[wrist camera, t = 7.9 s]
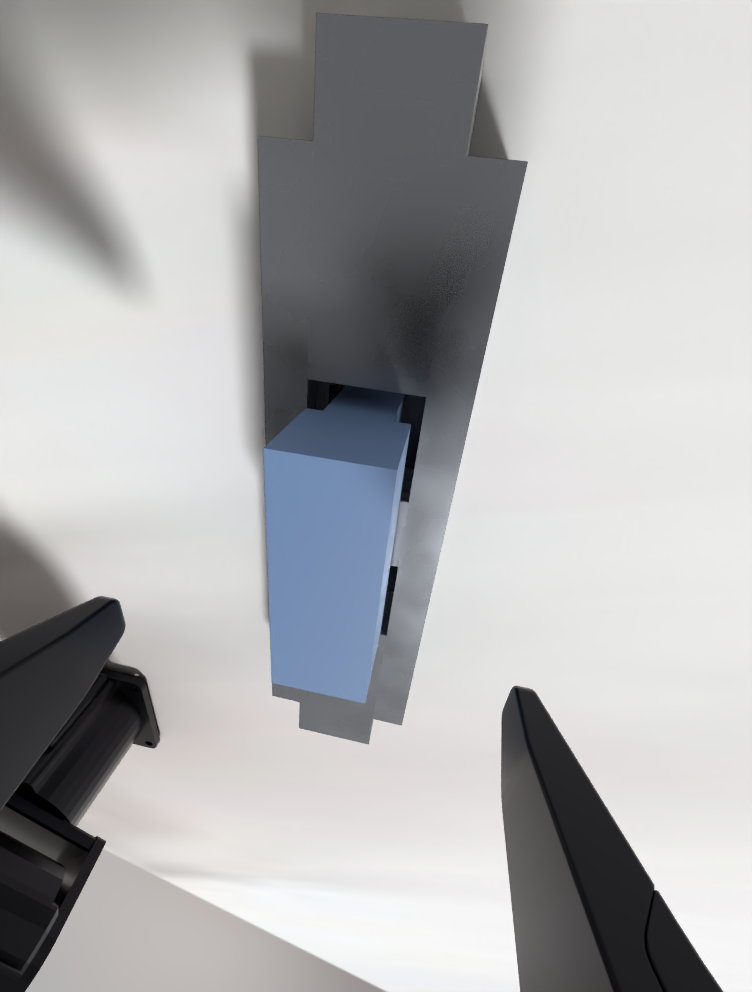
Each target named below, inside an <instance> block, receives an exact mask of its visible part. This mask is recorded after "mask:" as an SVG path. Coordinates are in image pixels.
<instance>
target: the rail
mask: <svg viewBox="0 0 752 992" xmlns="http://www.w3.org/2000/svg"><path fill="white" fill-rule="evenodd" d="M487 29H488V24H479V23H463V22H448V21H432V20H417V19H401V18H386V17H370V16H355V15H339V14H324V13H316V51H315V92H314V134H313V141H306V140H296V139H285V138H275V137H264V136H258V168H259V206H260V243H261V281H262V319H263V357H264V394H265V432H266V445H267V444H268V443H269V442H270V441H271V440H273V439H274V438H275V437H276V436H277V435H278V434H279V433H280V432H281V431H282V430H283V429H284V428H285V427H286V426H287V425H288V424H289V423H291V422H292V421H293V420H294V419H295V418H296V417H297V416H298V415H299V414H300V413H301V412H302V411H303V410H304V409H305V408H308V409H315V410H321V411H323V410H324V409H325V408H326V407H327V406H328V405H329V385H330V383H336V384H342V385H349V386H355V387H362V388H369V389H375V390H382V391H388V392H395V393H401V394H408V395H414V396H421V397H426V402H425V408H424V414H423V420H422V426H421V432H420V438H419V444H418V450H417V456H416V462H415V468H414V469H411V468H405V469H404V476H403V482H402V489H401V496H400V503H399V510H398V516H397V523H396V530H395V537H394V544H393V551H392V557H391V564H390V565H391V566H396V567H398V571H397V577H396V583H395V589H394V592H391V591H387V592H386V598H385V605H384V612H383V619H382V626H381V632H380V637H379V641H378V646H377V651H376V655H375V660H374V665H373V669H372V674H371V679H370V684H369V688H368V693H367V698H366V702H365V703H360V702H356V701H351V700H347V699H342V698H338V697H333V696H329V695H324V694H320V693H315V692H311V691H306V690H302V689H297V688H293V687H288V686H284V685H279V684H275V683H272V696H276V697H281V698H285V699H289V700H294V701H298V702H300V714H299V728H301V729H305V730H310V731H314V732H318V733H322V734H327V735H331V736H335V737H339V738H344V739H348V740H352V741H356V742H361V743H365V744H369V740H370V735H371V730H372V724H373V719H376V720H381V721H385V722H389V723H394V724H398V725H402V721H403V717H404V712H405V708H406V703H407V699H408V695H409V690H410V686H411V681H412V677H413V672H414V668H415V663H416V659H417V654H418V650H419V645H420V641H421V636H422V632H423V627H424V623H425V619H426V614H427V610H428V605H429V601H430V596H431V592H432V587H433V583H434V578H435V574H436V569H437V565H438V560H439V556H440V552H441V547H442V543H443V538H444V534H445V529H446V525H447V520H448V516H449V511H450V507H451V502H452V498H453V493H454V489H455V485H456V480H457V476H458V471H459V467H460V462H461V458H462V453H463V449H464V444H465V440H466V435H467V431H468V426H469V422H470V417H471V413H472V409H473V404H474V400H475V395H476V391H477V386H478V382H479V377H480V373H481V368H482V364H483V359H484V355H485V350H486V346H487V342H488V337H489V333H490V328H491V324H492V319H493V315H494V310H495V306H496V301H497V297H498V292H499V288H500V283H501V279H502V274H503V270H504V266H505V261H506V257H507V252H508V248H509V243H510V239H511V234H512V230H513V225H514V221H515V216H516V212H517V207H518V203H519V199H520V194H521V190H522V185H523V181H524V176H525V172H526V167H527V163H528V162H527V161H517V160H506V159H496V158H485V157H475V156H469V150H470V144H471V138H472V132H473V126H474V120H475V114H476V108H477V102H478V96H479V90H480V84H481V78H482V71H483V63H484V54H485V46H486V38H487Z"/></svg>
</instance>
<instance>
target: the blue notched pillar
mask: <svg viewBox="0 0 752 992" xmlns="http://www.w3.org/2000/svg"><path fill="white" fill-rule="evenodd" d="M404 397H405V394H401V393H395V392H388V391H382V390H375V389H369V388H362V387H355V386H349V385H346V386H345V387H344V388H343V389H342V391H341V392H340V393H339V394H338V395H337V396H336V397H335V398H334V399H333V400H332V401H331V402H330V404H329V405H328V406H327V407H326V408H325V409H324V410H323V411H321V410H315V409H308V408H305V409H304V410H303V411H302V412H301V413H300V414H299V415H298V416H297V417H296V418H295V419H294V420H293V421H292V422H291V423H289V424H288V425H287V426H286V427H285V428H284V429H283V430H282V431H281V432H280V433H279V434H278V435H277V436H276V437H275V438H274V439H273V440H271V441H270V442H269V443H268V444H267V445H266V446H265V447H264V448H263V454H264V482H265V510H266V538H267V566H268V594H269V622H270V650H271V678H272V683H275V684H279V685H284V686H288V687H293V688H297V689H302V690H306V691H311V692H315V693H320V694H324V695H329V696H333V697H338V698H342V699H347V700H351V701H356V702H360V703H365V702H366V698H367V693H368V688H369V684H370V679H371V674H372V669H373V665H374V660H375V655H376V651H377V646H378V641H379V637H380V632H381V626H382V619H383V612H384V605H385V598H386V592H387V585H388V578H389V571H390V564H391V557H392V551H393V544H394V537H395V530H396V523H397V516H398V510H399V503H400V496H401V489H402V482H403V476H404V469H405V462H406V455H407V448H408V441H409V435H410V428H411V424H406V423H401V419H402V412H403V404H404Z"/></svg>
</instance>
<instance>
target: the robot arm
mask: <svg viewBox="0 0 752 992" xmlns="http://www.w3.org/2000/svg"><path fill="white" fill-rule="evenodd" d="M124 630H125V620H124V616H123V613H122V609H121V605H120V602H119V601H118V600H117V599H114V598H109V597H105V596H99V597H96V598H94V599H91V600H89V601H87V602H85V603H83V604H81V605H78V606H76V607H74V608H72V609H70V610H68V611H65V612H63V613H61V614H59V615H57V616H55V617H52V618H50V619H48V620H46V621H44V622H41V623H39V624H37V625H35V626H33V627H31V628H28V629H26V630H24V631H22V632H20V633H18V634H15V635H13V636H11V637H9V638H7V639H5V640H2V641H0V992H25V990H26V989H27V988H28V986H29V985H30V983H31V982H32V980H33V979H34V977H35V976H36V974H37V973H38V971H39V970H40V968H41V966H42V965H43V963H44V961H45V959H46V958H47V956H48V955H49V953H50V951H51V949H52V947H53V945H54V944H55V942H56V940H57V938H58V936H59V934H60V932H61V930H62V928H63V926H64V924H65V922H66V920H67V918H68V916H69V914H70V912H71V910H72V908H73V906H74V904H75V902H76V900H77V899H78V897H79V895H80V893H81V891H82V888H83V887H84V885H85V883H86V881H87V879H88V877H89V875H90V873H91V871H92V869H93V867H94V865H95V863H96V861H97V859H98V857H99V855H100V853H101V851H102V849H103V847H104V845H105V843H106V841H105V840H103V839H101V838H100V837H98V836H96V837H93V836H92V835H90V834H88V833H86V832H85V831H83V830H81V829H80V828H78V827H76V826H77V825H78V823H79V822H80V820H81V819H82V817H83V816H84V814H85V813H86V811H87V810H88V808H89V807H90V805H91V804H92V803H93V801H94V800H95V798H96V797H97V795H98V794H99V792H100V791H101V789H102V788H103V786H104V785H105V783H106V782H107V781H108V779H109V778H110V776H111V775H112V773H113V772H114V770H115V769H116V767H117V766H118V764H119V763H120V761H121V760H122V758H123V757H124V756H125V754H126V753H127V751H128V750H129V748H130V747H131V745H132V744H137V745H141V746H145V747H149V748H155V747H156V746H157V745H158V743H159V742H160V737H159V733H158V729H157V725H156V721H155V717H154V713H153V709H152V706H151V702H150V698H149V694H148V690H147V686H146V683H145V682H144V681H143V680H142V679H140V678H137V677H133V676H129V675H124V674H120V673H116V672H111V671H107V670H103V669H102V668H103V666H104V665H105V663H106V662H107V660H108V658H109V657H110V655H111V653H112V652H113V650H114V648H115V647H116V645H117V643H118V642H119V640H120V639H121V637H122V635H123V633H124ZM501 798H502V811H503V822H504V832H505V842H506V852H507V862H508V872H509V882H510V892H511V902H512V912H513V922H514V932H515V942H516V952H517V963H518V973H519V983H520V992H723V991H722V989H721V988H720V986H719V985H718V983H717V982H716V980H715V979H714V977H713V976H712V975H711V973H710V972H709V970H708V969H707V967H706V966H705V964H704V963H703V961H702V960H701V958H700V957H699V955H698V953H697V952H696V950H695V949H694V947H693V946H692V944H691V943H690V941H689V939H688V938H687V936H686V935H685V933H684V932H683V930H682V928H681V927H680V925H679V924H678V922H677V921H676V919H675V917H674V916H673V914H672V913H671V911H670V909H669V908H668V906H667V904H666V903H665V901H664V900H663V898H662V896H661V895H660V893H659V892H658V891H657V890H654V884H653V882H652V880H651V879H650V877H649V876H648V874H647V872H646V871H645V869H644V867H643V866H642V864H641V863H640V861H639V859H638V858H637V856H636V854H635V853H634V851H633V850H632V848H631V846H630V845H629V843H628V842H627V840H626V838H625V837H624V835H623V833H622V832H621V830H620V829H619V827H618V825H617V824H616V822H615V820H614V819H613V817H612V816H611V814H610V812H609V811H608V809H607V807H606V806H605V804H604V803H603V801H602V799H601V798H600V796H599V794H598V793H597V791H596V790H595V788H594V786H593V785H592V783H591V782H590V780H589V778H588V777H587V775H586V773H585V772H584V770H583V769H582V767H581V765H580V764H579V762H578V760H577V759H576V757H575V756H574V754H573V752H572V751H571V749H570V747H569V746H568V744H567V743H566V741H565V739H564V738H563V736H562V734H561V733H560V731H559V730H558V728H557V726H556V725H555V723H554V722H553V720H552V718H551V717H550V715H549V713H548V712H547V710H546V709H545V707H544V705H543V704H542V702H541V700H540V699H539V697H538V696H537V694H536V693H535V691H533V690H532V689H530V688H525V687H520V686H514V687H513V688H512V689H511V691H510V694H509V696H508V698H507V701H506V703H505V706H504V708H503V712H502V745H501Z"/></svg>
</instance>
